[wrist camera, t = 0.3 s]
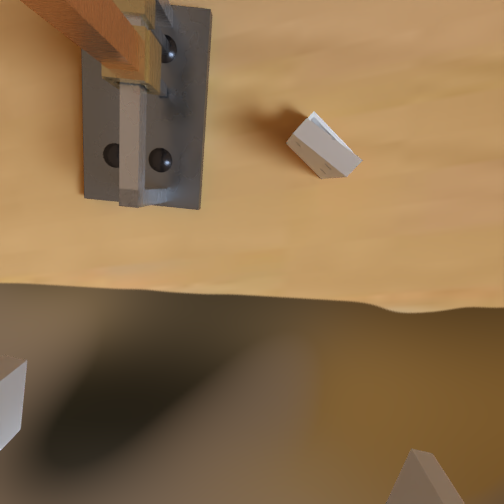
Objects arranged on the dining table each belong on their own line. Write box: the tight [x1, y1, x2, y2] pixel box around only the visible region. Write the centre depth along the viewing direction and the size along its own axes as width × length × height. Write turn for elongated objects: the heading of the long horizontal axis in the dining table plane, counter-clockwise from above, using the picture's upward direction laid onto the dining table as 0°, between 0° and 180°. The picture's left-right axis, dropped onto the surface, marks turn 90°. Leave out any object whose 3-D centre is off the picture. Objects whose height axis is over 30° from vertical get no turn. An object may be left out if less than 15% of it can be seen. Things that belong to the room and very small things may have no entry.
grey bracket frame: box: [113, 0, 173, 208], centre depth 28 cm, size 19×2×9 cm, turn 174°
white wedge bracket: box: [286, 112, 363, 179], centre depth 31 cm, size 4×10×9 cm
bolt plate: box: [81, 5, 212, 210], centre depth 33 cm, size 20×13×1 cm, turn 174°
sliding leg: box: [20, 0, 167, 97], centre depth 22 cm, size 4×4×20 cm
